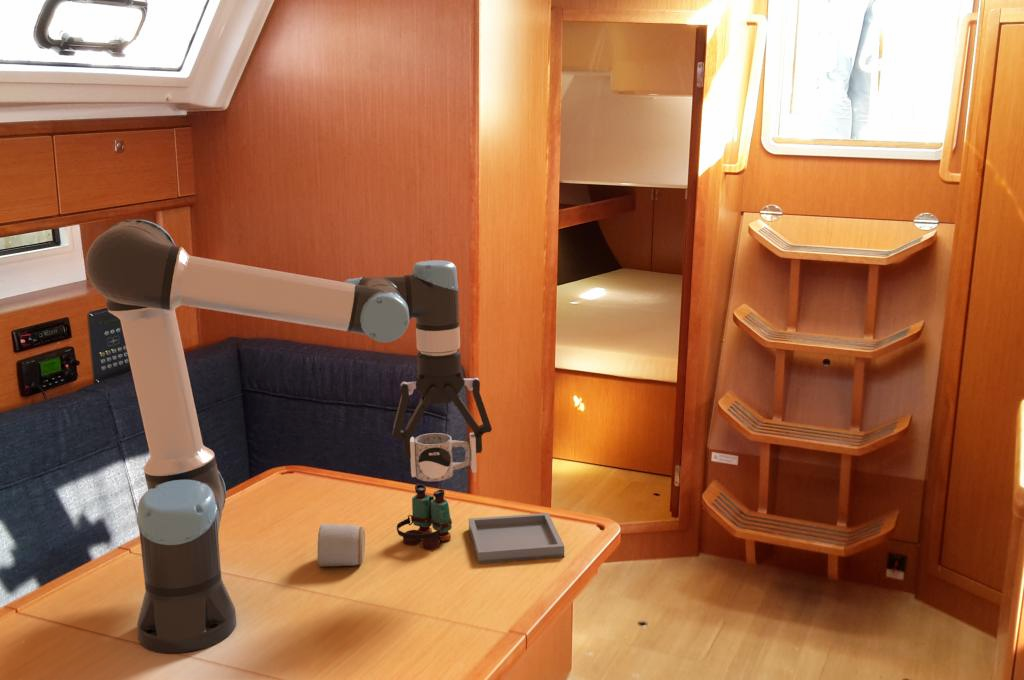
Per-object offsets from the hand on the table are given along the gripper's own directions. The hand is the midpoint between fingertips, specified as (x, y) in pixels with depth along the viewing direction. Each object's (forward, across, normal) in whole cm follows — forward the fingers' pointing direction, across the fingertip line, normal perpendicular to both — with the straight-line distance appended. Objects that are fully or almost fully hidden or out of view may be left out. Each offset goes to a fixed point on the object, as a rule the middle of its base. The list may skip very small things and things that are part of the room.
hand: (443, 472), depth 183 cm
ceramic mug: (+18, +19, -6) cm, 27 cm away
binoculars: (+19, +4, -11) cm, 22 cm away
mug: (+1, 0, 0) cm, 1 cm away
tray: (+18, -14, -9) cm, 24 cm away
